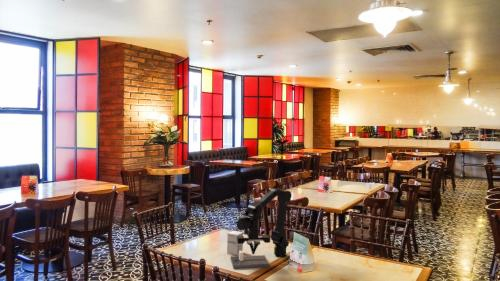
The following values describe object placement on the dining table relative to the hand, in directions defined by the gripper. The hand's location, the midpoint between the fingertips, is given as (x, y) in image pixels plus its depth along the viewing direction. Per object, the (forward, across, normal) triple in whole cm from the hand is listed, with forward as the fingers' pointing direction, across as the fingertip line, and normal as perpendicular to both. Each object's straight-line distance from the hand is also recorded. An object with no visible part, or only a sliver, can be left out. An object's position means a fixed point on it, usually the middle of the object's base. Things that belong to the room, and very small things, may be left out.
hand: (253, 254), depth 220 cm
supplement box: (+5, +8, -18) cm, 21 cm away
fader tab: (+3, +7, +1) cm, 7 cm away
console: (+5, +2, +1) cm, 6 cm away
